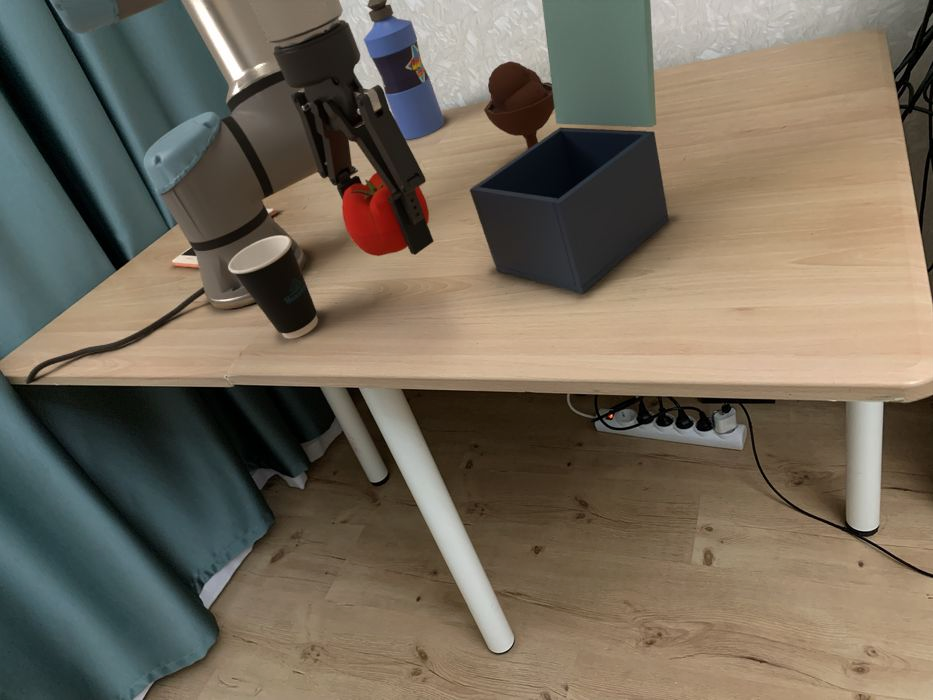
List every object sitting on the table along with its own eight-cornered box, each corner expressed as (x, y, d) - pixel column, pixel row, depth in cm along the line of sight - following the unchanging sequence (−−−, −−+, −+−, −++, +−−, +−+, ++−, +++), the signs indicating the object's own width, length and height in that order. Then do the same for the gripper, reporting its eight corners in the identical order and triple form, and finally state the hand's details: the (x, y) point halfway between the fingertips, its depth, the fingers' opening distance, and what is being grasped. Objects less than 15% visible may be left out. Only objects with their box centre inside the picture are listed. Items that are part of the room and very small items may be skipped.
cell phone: (277, 212, 125) (275, 208, 124) (202, 268, 114) (199, 263, 114) (247, 212, 130) (245, 208, 130) (173, 266, 120) (170, 261, 119)
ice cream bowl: (575, 159, 102) (550, 56, 94) (502, 181, 104) (472, 82, 96) (568, 135, 111) (545, 38, 102) (500, 155, 113) (472, 63, 104)
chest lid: (641, -52, 65) (647, -53, 66) (538, -32, 75) (544, -34, 76) (650, 127, 73) (656, 125, 74) (556, 123, 83) (561, 121, 84)
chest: (583, 294, 73) (559, 203, 67) (496, 270, 83) (469, 189, 77) (669, 220, 80) (654, 131, 74) (579, 206, 90) (560, 127, 84)
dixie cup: (275, 320, 91) (234, 248, 85) (331, 301, 91) (294, 227, 84) (267, 354, 85) (221, 279, 79) (327, 334, 84) (286, 256, 78)
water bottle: (394, 143, 136) (342, 9, 122) (409, 124, 143) (362, -4, 129) (436, 133, 132) (388, -5, 119) (450, 114, 139) (406, -19, 125)
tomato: (449, 222, 77) (427, 160, 73) (405, 267, 72) (378, 203, 68) (386, 221, 83) (362, 163, 78) (341, 263, 77) (312, 204, 73)
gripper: (408, 7, 58) (484, 238, 71) (285, 22, 74) (366, 209, 86) (338, 43, 55) (431, 278, 68) (226, 51, 70) (318, 240, 83)
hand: (395, 239), depth 77 cm, fingers closed on tomato, 9 cm apart
